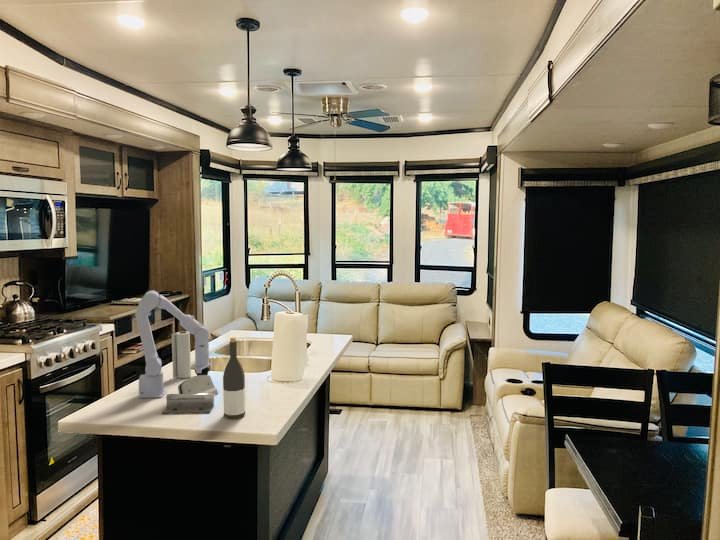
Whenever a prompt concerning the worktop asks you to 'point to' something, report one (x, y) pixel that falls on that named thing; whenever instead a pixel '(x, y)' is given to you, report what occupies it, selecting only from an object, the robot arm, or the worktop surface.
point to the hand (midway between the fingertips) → (202, 384)
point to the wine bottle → (234, 385)
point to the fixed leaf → (189, 403)
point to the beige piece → (197, 385)
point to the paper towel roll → (181, 354)
